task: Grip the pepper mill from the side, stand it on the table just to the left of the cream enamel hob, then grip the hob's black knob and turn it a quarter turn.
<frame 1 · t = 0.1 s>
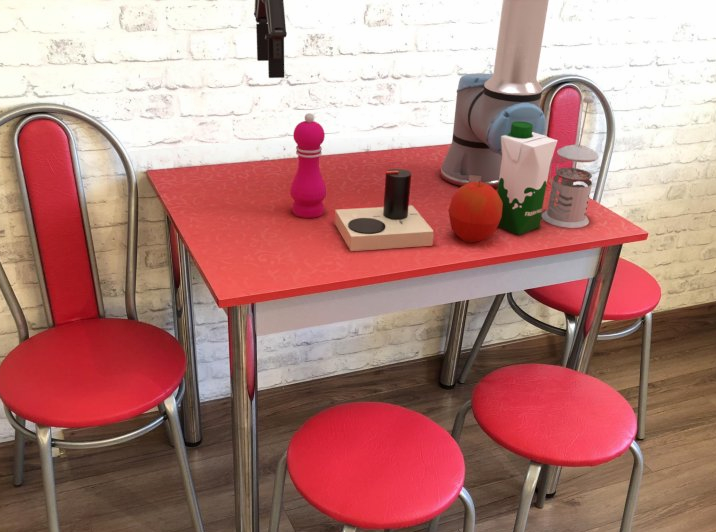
hand: (270, 68, 146), 28 cm above the table, tool pointing down, fingers open, 13 cm apart
hob knob: (397, 193, 152), point 7 cm above the table, hinge at 0.0°
apple: (471, 238, 155), on the table
hob: (382, 234, 154), on the table
milk carton: (515, 226, 160), on the table
french press: (562, 217, 166), on the table
pepper mill: (308, 213, 162), on the table
burner: (366, 226, 149), resting on hob
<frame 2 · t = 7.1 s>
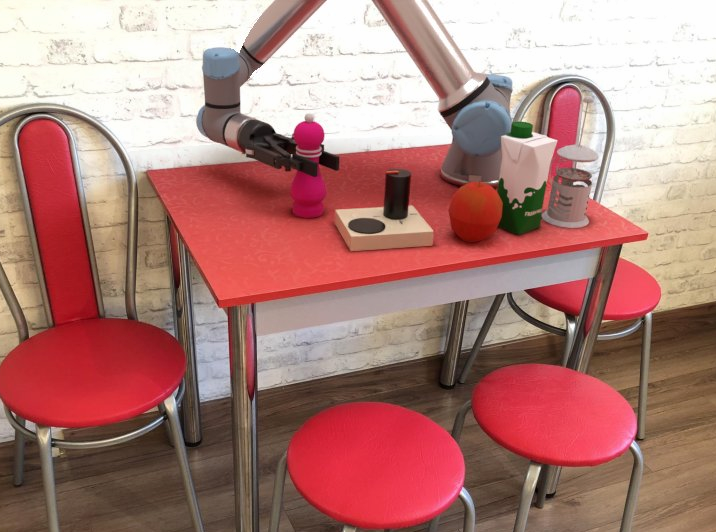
hand: (326, 166, 153), 11 cm above the table, tool horizontal, fingers closed on pepper mill, 5 cm apart
pepper mill: (308, 213, 162), on the table, touching gripper
everything else where it was.
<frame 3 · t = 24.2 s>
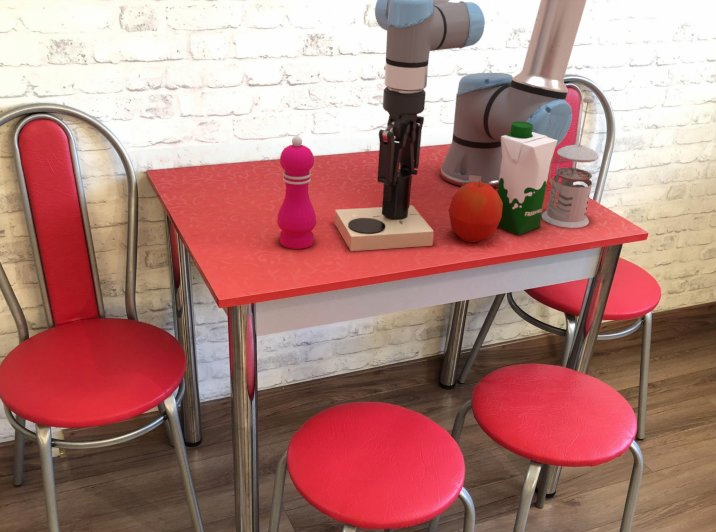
hand: (395, 210, 154), 4 cm above the table, tool pointing down, fingers closed on hob knob, 5 cm apart
hob knob: (397, 193, 152), point 7 cm above the table, hinge at 0.0°, touching gripper
pepper mill: (296, 243, 149), on the table
everything else where it was.
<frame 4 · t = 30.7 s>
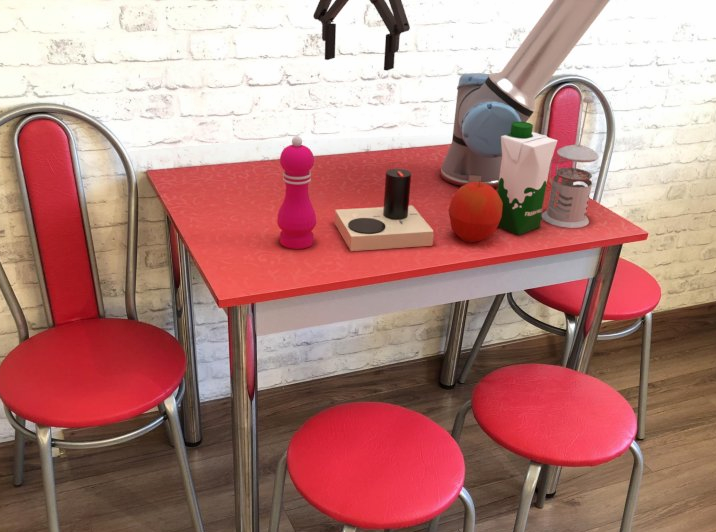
hand: (358, 64, 158), 27 cm above the table, tool pointing down, fingers open, 13 cm apart
hob knob: (397, 193, 152), point 7 cm above the table, hinge at 89.9°
everything else where it was.
at the end: pepper mill inside the target area (0.2 cm from its centre), on the table; pepper mill tilted 0°; hob knob at +90° (first picture: +0°) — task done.
